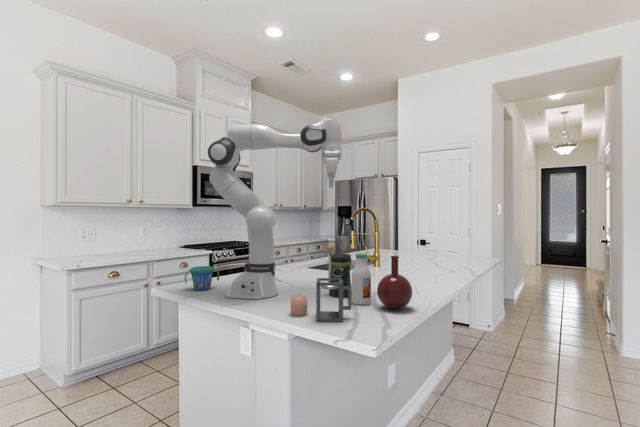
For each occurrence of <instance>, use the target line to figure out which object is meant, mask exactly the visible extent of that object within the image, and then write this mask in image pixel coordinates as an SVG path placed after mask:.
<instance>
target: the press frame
mask: <svg viewBox="0 0 640 427" xmlns="http://www.w3.org/2000/svg"><path fill="white" fill-rule="evenodd" d="M327 281H328V282H327ZM331 281H339V283H338V282H329V277H317V278H316V284H315V286H316V291H315V292H316V296H315V297H316V301H315V303H316V304H315V306H316V310H315V312H316V313H315V314H316V315H315V320H316V323H317V322H319V323H321V322H322V323H324V322H325V323H343V322H344V311H352V294H351V290H352V285H351V286H343V280H342V278H331ZM321 285H339V297H338V311H333V310H331V311H330V310H329V311H326V310H325V311H323V310H321ZM343 290H348V296H347V303H348V304H347V305H344V297H343Z"/></svg>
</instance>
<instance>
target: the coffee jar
mask: <svg viewBox="0 0 640 427" xmlns="http://www.w3.org/2000/svg"><path fill="white" fill-rule="evenodd" d="M351 266H352V256H351V254H350V253H338V252H337V253H336V252H335V253H331V278H342V280H343V286H351V287H352V279H351ZM331 282H338V283H339V281H331ZM328 290H329V291H328V292H329V294H328V295H329V296H332V297H337V298H339V285H338V288H337V289H328ZM351 295H352V289H351ZM346 297H347V298H348V290H343V298H346Z"/></svg>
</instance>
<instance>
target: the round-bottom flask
mask: <svg viewBox="0 0 640 427" xmlns="http://www.w3.org/2000/svg"><path fill="white" fill-rule="evenodd" d="M399 258H400V256H398V255H390V259H391V271H390V272H391V273H390V274H387V275H385V276H383V277H382V278H381V279H380V280H379V283H378V285H377V288H376V293H377V296H378V300H379V302H380V303H381V304H382V305H383V306H384V307H386V308H388V309H390V310H391V309H392V310H399V309H402V308H405V307H406V306H407V305H408V304H409V303H410V302H411V300H412V297H413V287H412V284H411V283H410V281H409V280H408V278H406V277H405V276H403V275H402V274H399Z"/></svg>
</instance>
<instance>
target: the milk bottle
mask: <svg viewBox="0 0 640 427" xmlns="http://www.w3.org/2000/svg"><path fill="white" fill-rule="evenodd" d="M355 260H356V262H355V265H354V267H353V269H352V272H351V290H352V294H351V304H353V305H357V306H368V305H370V304H371V302H372V300H371V299H372V274H371V271H370V270H371V269H370V267H369V266H368V261H367V260H368V254H367V253H365V252H364V253H362V252H361V253H356V254H355Z"/></svg>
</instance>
